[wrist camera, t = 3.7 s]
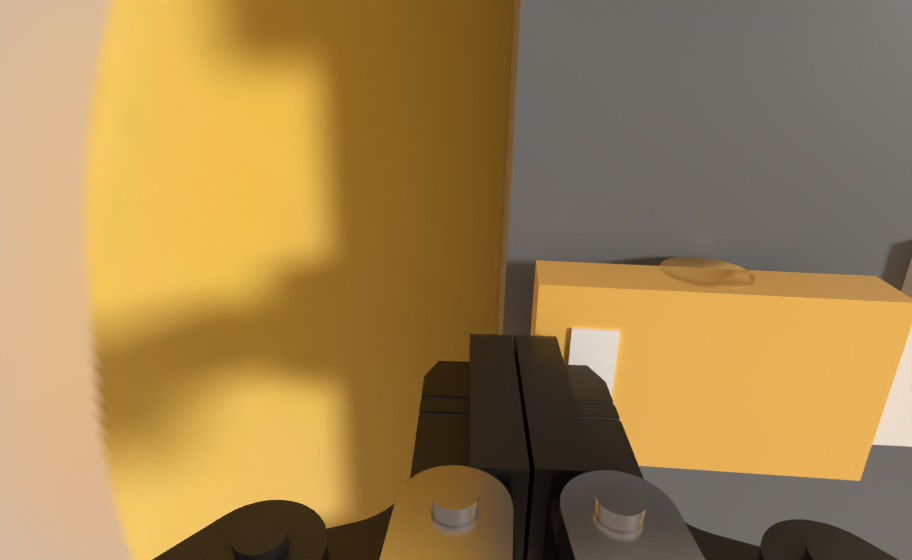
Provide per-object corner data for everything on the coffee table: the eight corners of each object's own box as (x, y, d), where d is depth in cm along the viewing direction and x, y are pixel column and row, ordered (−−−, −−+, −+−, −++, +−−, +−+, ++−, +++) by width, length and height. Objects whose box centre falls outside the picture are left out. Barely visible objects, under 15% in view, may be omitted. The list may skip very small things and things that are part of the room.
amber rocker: (858, 264, 11) (921, 305, 10) (812, 422, 13) (861, 483, 11) (534, 249, 12) (539, 286, 10) (523, 404, 13) (525, 460, 11)
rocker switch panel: (1228, -469, 11) (1692, -791, 6) (829, 654, 21) (910, 804, 17) (537, -458, 11) (563, -749, 7) (481, 631, 21) (478, 770, 17)
